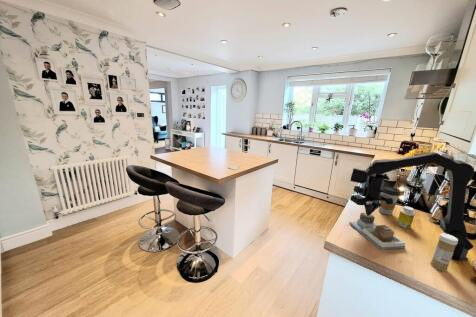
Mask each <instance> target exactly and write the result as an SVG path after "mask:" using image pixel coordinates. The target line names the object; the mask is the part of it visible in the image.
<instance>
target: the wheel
mask: <svg viewBox="0 0 476 317" xmlns="http://www.w3.org/2000/svg"><path fill="white" fill-rule="evenodd" d="M359 218H360V219H361V220H363V221H365V222H368V223H374V222H375V216H374V215H373V214H370V215H369V216H368V215H366V212H360V215H359Z"/></svg>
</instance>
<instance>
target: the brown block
mask: <svg viewBox="0 0 476 317" xmlns="http://www.w3.org/2000/svg"><path fill="white" fill-rule="evenodd" d="M376 225H377V224H376ZM393 235H395V231H394V230H392V229H391V228H390V227H389V226H387V225H386V224H379V225H377V226H376V227H375V231H374V236H376V237H377V238H378V239H379V240H381V241H382V242H392V238H393Z"/></svg>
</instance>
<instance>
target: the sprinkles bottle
mask: <svg viewBox="0 0 476 317" xmlns="http://www.w3.org/2000/svg"><path fill="white" fill-rule="evenodd" d="M457 243H458V239H457V238H456V237H454V236H452V235H449V234H445V232H443V233H440V234H439V237H438V241H437V245H436V247H435V249H434V252H433V256H432V259H431V261H430V265H431V266H432V267H433V268H435V269H436V270H439V271H442V272H447V271H448V269H449V268H448V267H449V265H450V262H451V260H452V255H453V252H454V249H455V246H456V245H457Z"/></svg>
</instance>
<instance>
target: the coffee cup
mask: <svg viewBox="0 0 476 317" xmlns="http://www.w3.org/2000/svg"><path fill="white" fill-rule="evenodd" d="M382 190H384V191H383V192H381V194H384V195H386V196H388V197H391V198H392V199H393V203H392V204H386V201H380V203H379V204H381V205H382V206H380V207H379V208H378V212H380V213H381V214H382V215H386V216H391V215H393V212H394V210H395V207H396V205H397V202H398V199H399V197H400V190H399V188H395V187H391V186H382Z"/></svg>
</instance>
